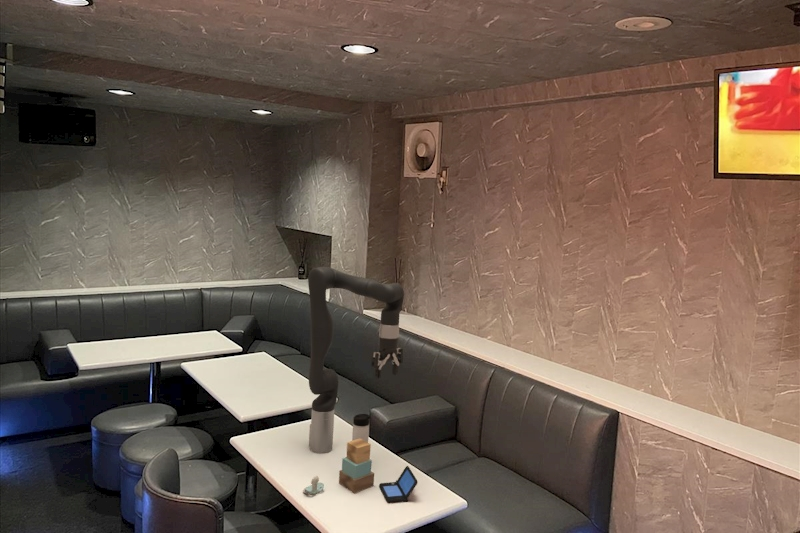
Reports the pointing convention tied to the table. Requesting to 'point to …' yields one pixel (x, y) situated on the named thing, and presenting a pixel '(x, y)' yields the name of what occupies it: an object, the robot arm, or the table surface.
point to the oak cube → (358, 451)
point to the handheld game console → (399, 487)
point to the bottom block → (356, 482)
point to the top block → (356, 468)
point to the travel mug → (361, 427)
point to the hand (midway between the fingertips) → (386, 376)
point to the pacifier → (314, 486)
